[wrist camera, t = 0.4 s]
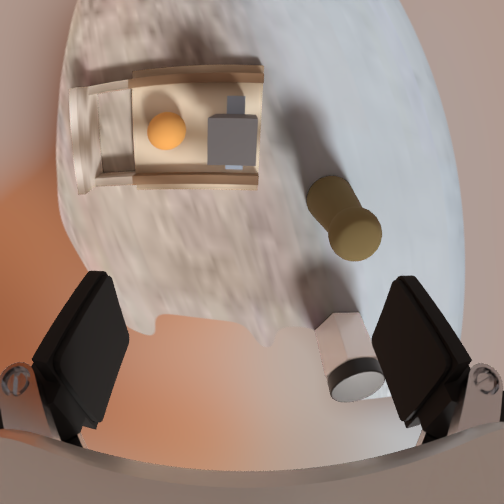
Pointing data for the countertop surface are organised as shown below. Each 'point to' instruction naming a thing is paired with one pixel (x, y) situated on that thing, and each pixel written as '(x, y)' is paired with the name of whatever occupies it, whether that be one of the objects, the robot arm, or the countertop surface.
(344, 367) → the jar
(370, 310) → the countertop surface
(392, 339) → the robot arm
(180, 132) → the ball
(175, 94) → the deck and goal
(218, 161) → the grey stepped block
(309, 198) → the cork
